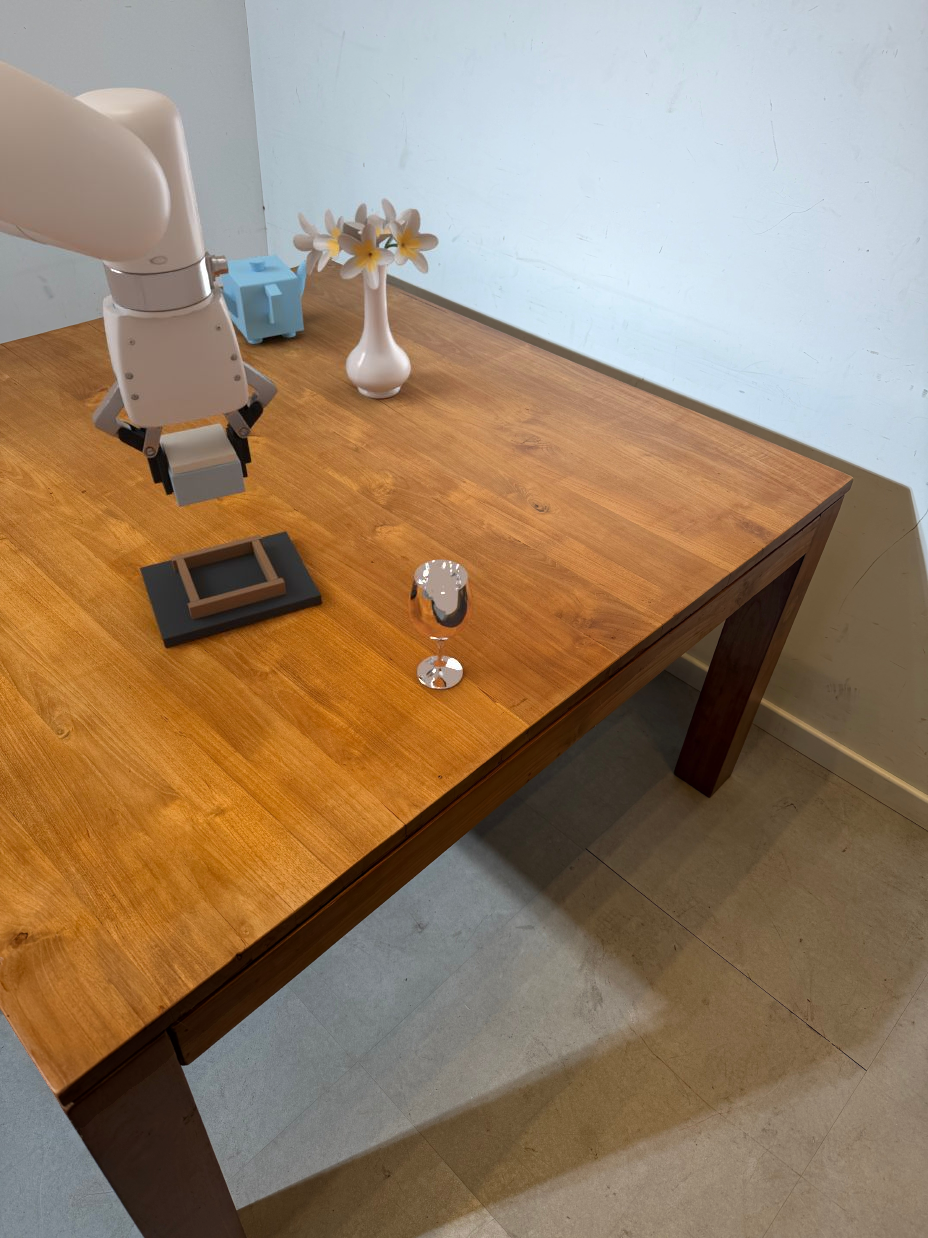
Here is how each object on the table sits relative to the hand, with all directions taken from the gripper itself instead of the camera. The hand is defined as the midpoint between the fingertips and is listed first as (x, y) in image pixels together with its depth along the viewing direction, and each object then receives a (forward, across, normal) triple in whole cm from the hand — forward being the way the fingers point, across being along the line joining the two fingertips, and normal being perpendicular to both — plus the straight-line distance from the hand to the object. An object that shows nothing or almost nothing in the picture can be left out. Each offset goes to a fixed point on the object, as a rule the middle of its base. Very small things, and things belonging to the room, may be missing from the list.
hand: (204, 476), depth 76 cm
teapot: (+16, -22, -62) cm, 68 cm away
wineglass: (+15, -16, +18) cm, 28 cm away
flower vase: (+16, -30, -37) cm, 50 cm away
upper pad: (+1, 0, 0) cm, 1 cm away
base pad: (+15, 0, -2) cm, 15 cm away
